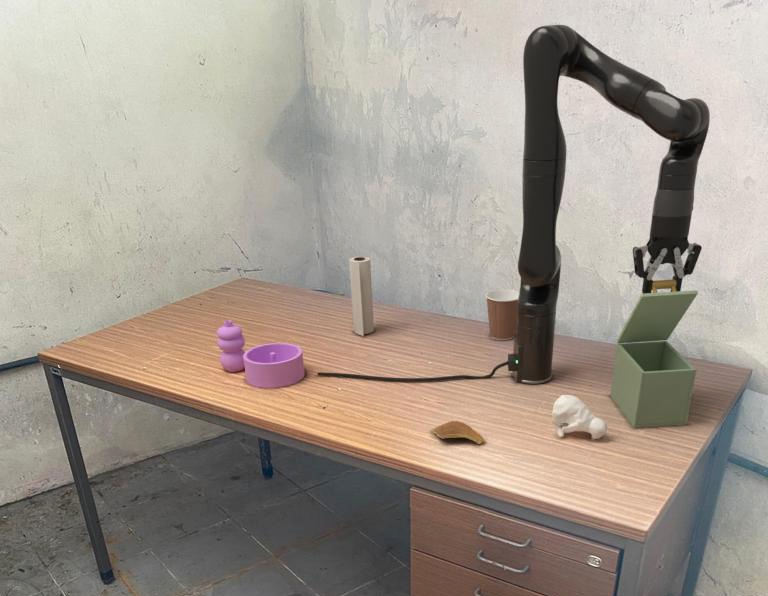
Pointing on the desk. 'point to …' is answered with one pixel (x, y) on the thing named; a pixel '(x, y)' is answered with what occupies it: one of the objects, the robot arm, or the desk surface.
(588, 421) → the white lumpy piece
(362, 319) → the beige tall hexagonal prism
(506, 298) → the coffee cup
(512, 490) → the desk surface
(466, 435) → the pottery shard
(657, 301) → the lid
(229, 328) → the container set
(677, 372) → the chest
